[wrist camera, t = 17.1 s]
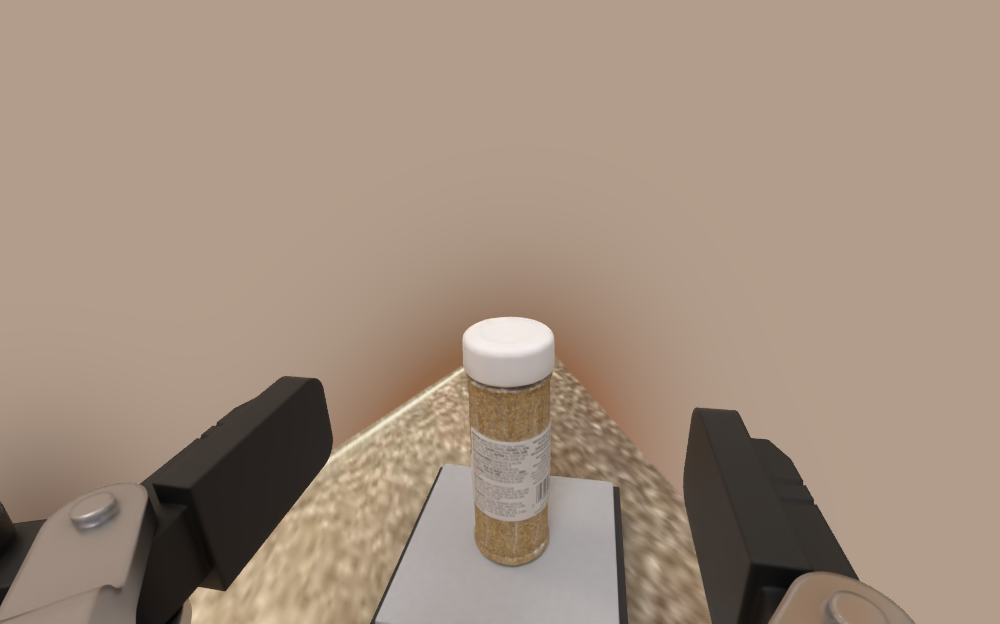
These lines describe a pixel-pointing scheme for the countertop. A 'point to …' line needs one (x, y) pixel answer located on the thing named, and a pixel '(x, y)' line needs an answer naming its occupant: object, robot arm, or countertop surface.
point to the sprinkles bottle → (510, 435)
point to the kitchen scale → (503, 588)
